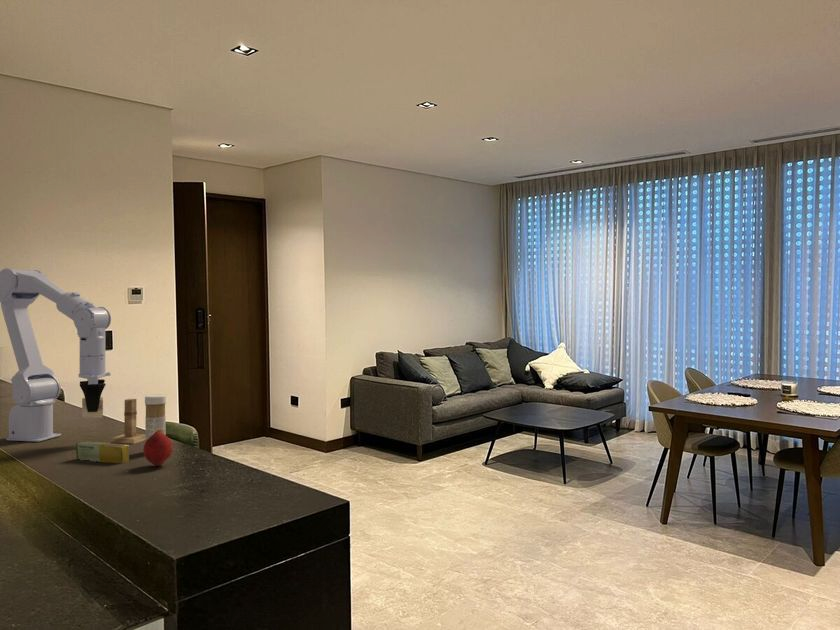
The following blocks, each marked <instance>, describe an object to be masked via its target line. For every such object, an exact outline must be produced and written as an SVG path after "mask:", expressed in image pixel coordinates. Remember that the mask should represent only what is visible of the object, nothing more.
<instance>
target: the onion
mask: <svg viewBox="0 0 840 630" xmlns="http://www.w3.org/2000/svg"><path fill="white" fill-rule="evenodd" d="M173 451H174V445H173V442H172V440H171V439H170V437H169V436H167V435H166V434H165V435H164V434H163V433H162V430H161V429H157V430H156V432H155V433H154V434H153V435H152V436H150V437H149V439H148V440H147V441H146V440H145V443H144V445H143V455H144V458H145V459H146V460H147V462H149V463H150V464H152V465H154V466H156V467H160V466H162V465H163V464H164V463H165V462H166V461H167V460H168V459H169V458H170V457H171V456H172V454H173Z"/></svg>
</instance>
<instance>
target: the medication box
mask: <svg viewBox="0 0 840 630" xmlns="http://www.w3.org/2000/svg"><path fill="white" fill-rule="evenodd" d="M75 449H76V450H75V451H76V452H75V453H76V454H75V455H76V460H77V459H80V460H79V461H83V460H90V461H89V462H96V461H98V462H100V463H113V464H125V463H127V462H130V444H127V443H112V442H99V441H88V440H87V441H86V440H83V441H80V442H76V444H75Z"/></svg>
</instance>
